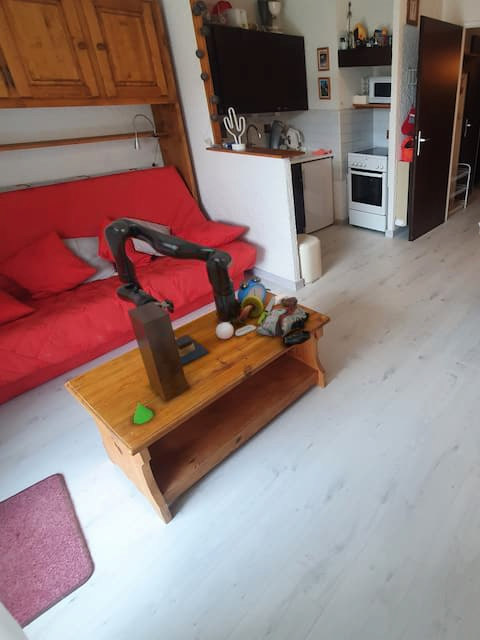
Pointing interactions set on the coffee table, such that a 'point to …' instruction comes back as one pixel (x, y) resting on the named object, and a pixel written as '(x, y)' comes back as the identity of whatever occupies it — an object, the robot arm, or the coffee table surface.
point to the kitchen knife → (266, 311)
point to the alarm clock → (251, 289)
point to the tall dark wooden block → (158, 350)
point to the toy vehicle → (280, 298)
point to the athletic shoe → (291, 320)
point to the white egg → (224, 330)
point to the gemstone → (142, 414)
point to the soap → (245, 330)
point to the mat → (193, 353)
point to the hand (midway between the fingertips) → (162, 315)
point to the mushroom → (249, 309)
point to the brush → (184, 345)
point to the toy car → (296, 338)
